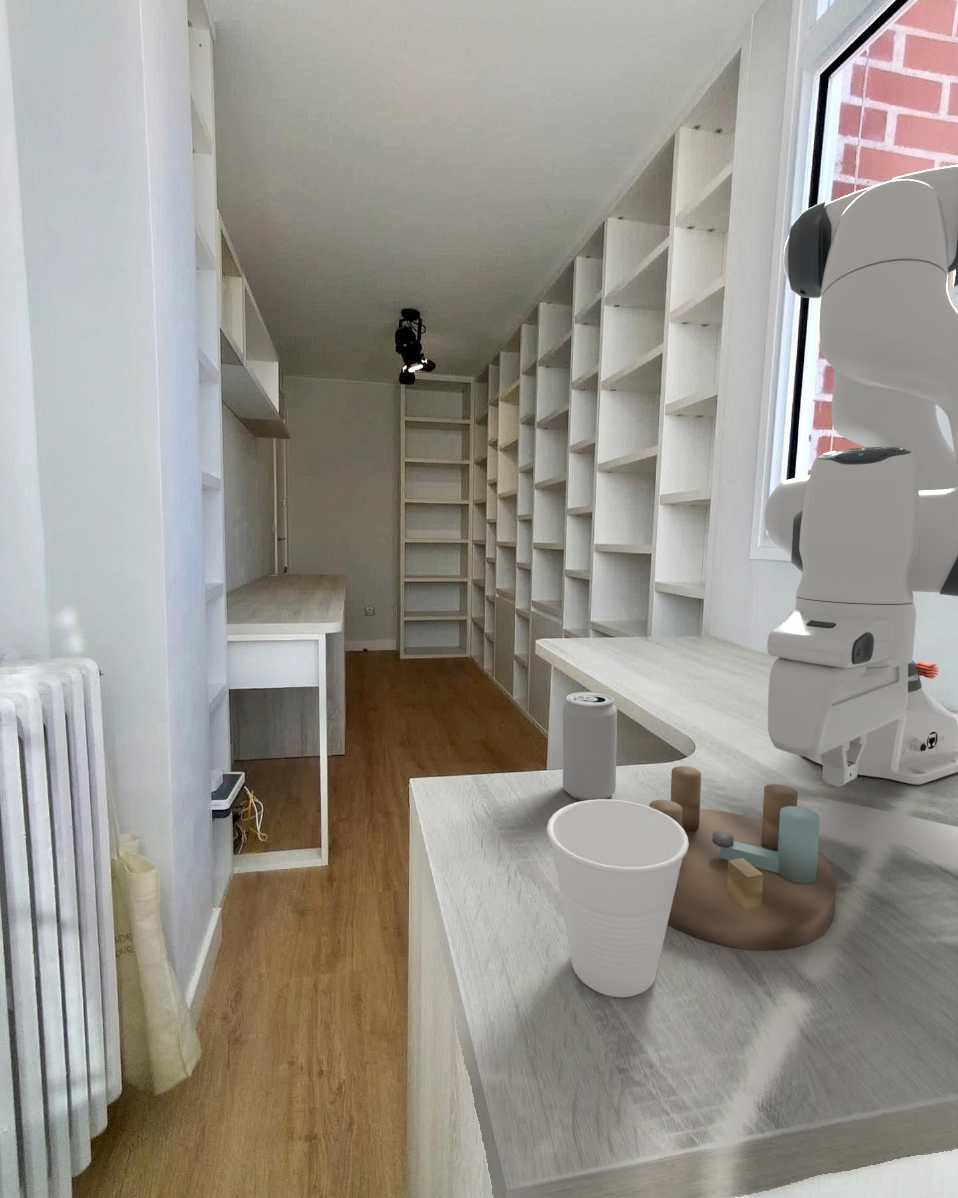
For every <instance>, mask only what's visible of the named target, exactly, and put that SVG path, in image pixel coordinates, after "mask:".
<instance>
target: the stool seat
mask: <svg viewBox="0 0 958 1198" xmlns="http://www.w3.org/2000/svg"><path fill="white" fill-rule="evenodd" d="M670 779H671V780H670V800H667V799H655V800H652V801H650V803H649V805H648V807H651V808H653V809H656V810H658V811H660V812H662V813H664V814H666V815H668V816H669V817H671V818H672V819H673V820H675V821H676V822H677V823H678V824H679V825H680V826H681V827H682V828H683V829H684V831H685V833H686V835H687V837H688V843H689V846H688V850H687V853H686V854H685V855H684V857H683V858H682V862H681V867H680V871H679V876H678V880H677V885H676V889H675V893H674V898H673V901H672V906H671V911H670V915H669V919H668V924H667V926H670V927H671V928H673V929H676V930H677V931H680V932H682V933H684V934H687V935H688V936H692V937H693V938H697V939H700V940H701V941H706V942H709V943H712V944H716V945H721V946H725V947H729V948H735V949H742V950H751V951H752V950H753V951H777V950H778V951H779V950H780V951H781V950H787V949H794V948H797V947H801V946H804V945H807V944H809V943H811V942H814V941H816V940H818V939H819V938H820V937H821V936H823V935H824V934H826V932H827V931H828V930H829V929H831V926H832V924H833V921H834V918H835V917H834V915H835V907H836V895H837V894H836V893H837V881H836V876H835V873H834V871H833V869H832V867H831V866H830V864H829V862H828V861H827V860H826V859H825V858H824V857H823V856H822V854H821V853H819V852H818V856H817V871H816V880H815V881H814V882H813V883H809V884H801V883H796V882H792V881H789V880H787V879H785V878H784V877H782V876H781V875H780V874H779V873H776V872H772V871H768V870H765V869H761V868H757V867H754V866H752V865H751V864H750V863H749V862H747V861H746V860H745V859H744V858H740V859H734V860H726V859H722V858H720V846H717V845H715V844H714V843H713V841H712V836H713V832H716V831H724V832H728V833H730V834H731V835H733V837H734V841H736V842H740V843H744V844H748V845H752V846H756V847H760V848H764V849H769V850H773V851H777V852H778V841H779V824H780V810H781V808H783V807H787V806H796V807H798V801H799V799H798V798H799V792H798V791H797V790H796V789H795V788H794V787H793V788H792V786H789V785H784V784H779V783H769V784H766V785H765V786H764V787H763V789H764V791H763V802H762V803H763V806H762V820H761V819H760V820H759V819H756V818H753V817H750V816H745V815H743V814H738V813H734V812H728V811H722V810H715V809H706V808H705V809H704V808H701V790H702V788H701V787H702V772H701V771H700V770H699V769H696V768H694V767H690V766H686V765H685V766H683V765H682V766H675V767H673V768H672V769H671V778H670Z"/></svg>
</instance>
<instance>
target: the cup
mask: <svg viewBox="0 0 958 1198" xmlns="http://www.w3.org/2000/svg"><path fill="white" fill-rule="evenodd" d="M546 825H547V826H546V832H547V833H546V834H547V837H548V839H549V841H550V843H551V847H552V852H553V860H554V864H555V871H556V878H557V881H558V887H559V894H560V900H561V905H562V912H563V917H564V918H563V919H564V924H565V930H566V935H567V943H568V948H569V949H568V950H569V957H570V960H571V967H572V968H573V971H574V973H575V975H577V978H578V979H579V980H580V981H581V982H582V983H583V984H584V985H586V986H587V987H588V988H590V989H591V990H593V991H595V992H597V993H598V994H601V995H605V996H608V997H613V998H630V997H634V996H637V995H639V994H641V993H644V992H646V991H647V990H648V989H649V988H651V987H652V985H653V983H654V982H655V981H656V977H657V973H658V969H659V965H660V958H661V956H662V952H663V951H662V949H663V946H664V941H665V937H666V931H667V929H668V919H669V915H670V911H671V906H672V901H673V898H674V893H675V889H676V885H677V880H678V876H679V871H680V867H681V862H682V858H683V857H684V855H685V854H686V853H687V850H688V846H689V843H688V837H687V835H686V833H685V831H684V829H683V828H682V827H681V826H680V825H679V824H678V823H677V822H676V821H675V820H673V819H672V818H671V817H669V816H668V815H666V814H664V813H662V812H660V811H658V810H656V809H653V808H651V807H649V805H645V804H641V803H637V802H632V801H629V800H628V801H627V800H620V799H609V798H607V799H597V800H587V801H583V800H580V801H577V802H574V803H570V804H567V805H565V806H564V807H561V808H560V809H558V810H557V811H556V812H554V813H553V814H552V815H551V817H550V818H549V819H548V823H547V824H546Z"/></svg>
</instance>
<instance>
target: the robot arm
mask: <svg viewBox="0 0 958 1198" xmlns="http://www.w3.org/2000/svg"><path fill="white" fill-rule="evenodd" d="M783 267H784V273H785V275H786V279H787V281H788V282H789V286H790V288H791V291H792V292H794V293H795V294H796V295H798V296H800V297H801V298H806V299H807V298H809V299H819V307H818V340H819V350H820V352H821V354H822V355H823V357H824V359H825V361H826V362H827V363H828V364H829V366H831V367H832V368H833V385H832V398H831V399H832V400H831V401H832V402H831V414H830V416H831V417H830V420H831V424H832V427H833V428H834V430H835V432H836V433H837V434H838V435H839V436H841V437H842V438H843V439H845V440H848V441H850V442H851V443H855V444H856V445H859V446H863V447H854V448H847V449H837V450H832V451H827V452H824V453H823V454H821V455H819V456H817V457H816V458H815V459H814V460H813V463H812V466H811V470H810V472H809V475H808V474H807V475H803V476H802V475H801V476H799V477H794V478H793V477H792V478H790V479H786V480H785V479H784V480H783V481H781V482H779V484H778V485H777V486H776V487H775V488H774V490H773V491H772V492H771V494H770V495H769V498H768V499H767V500H766V505H765V508H764V525H765V529H766V531H767V533H768V536H769V538H771V540H772V541H773V542H774V544H775V545H777V546H778V547H779V548H780V549H782V550H783V551H784V552H785V553H787V554H788V555H789V556H790V558H791V559H790V561H791V563H792V564H793V565H794V566H795V567H796V568H797V569H798V570H799V571H801V573H802V574H801V579H800V582H799V585H798V587H797V590H796V595H795V596H796V597H795V609H793V610H792V611H790V613H789V615H788V616H787V617H786V618H785V619H784V620H783V621H782V622H781V623H780V624H779V625H777V626H776V627H775V628H773V629H772V630H771V631H770V632H769V634H768V636H767V647H766V648H767V654H768V655H769V656H770V657H773V658H777V659H776V660H775V661H774V662H773V664H772V666H771V669H770V672H769V673H770V674H769V677H768V691H767V692H768V694H767V733H768V736H769V739H770V741H771V743H772V745H773V747H774V748H776V749H778V750H781V751H784V752H787V753H790V754H793V755H797V756H801V757H803V758H804V757H805V758H807V759H809V760H811V761H813V762H815V763H817V764H820V765H821V766H822V776H821V777H822V780H823V781H824V783H826V784H828V785H832V786H835V787H837V788H839V787H844V786H845V785H846V784H848V783H850V782H852V781H854V780H855V779H857V777H858V775H860V776H867V777H874V778H882V779H888V780H893V781H897V782H901V783H905V784H910V785H923V784H925V783H929V782H931V781H935V780H937V779H942V778H944V777H947V776H950V775H953V774H956V773H958V720H957V718H956V716H954V714H953V713H951V712H950V711H949V710H948V709H947V708H946V707H944V706H943V705H941V704H940V703H939V702H938V701H937V700H935V699H934V698H933V697H932V696H931V695H930V694H928V693H927V692H926V691H925V690H924V689H923V688H922V687H923V685H922V681H921V676H922V677H925V678H927V679H931V680H932V679H935V678H936V677H937V675H938V672H939V667H938V665H937V664H935V663H931V662H930V663H929V662H925V661H924V660H923V661H922V660H921V661H918V662H917V663H916V662H915V661H914V660H913V657H914V645H915V643H914V642H915V635H916V623H917V621H916V620H917V607H916V604H915V603H914V601H915V600H914V592H922V593H938V594H939V595H944V596H953V597H958V310H957V308H956V307H954V305H953V303H952V301H951V299H950V295H949V291H948V279H949V278H948V277H949V275H948V274H950V272H953V273H952V275H953V276H952V277H953V278H952V285H953V288H955V287H957V286H958V164H955V165H950V166H943V167H937V168H931V169H926V170H921V171H916V172H913V173H908V174H904V175H900V176H896V177H893V178H892V180H889V181H886V182H882V183H878V184H875V185H872V186H869V187H866V188H864V189H861V190H857V191H854V192H852V193H850V194H848V195H844V196H841V197H840V198H838V199H835V200H833V201H830V202H829V200H823V201H822V202H820V203H817V204H815V205H814V206H812V207H809V208H808V209H805V210H804V211H803V212H801V213H800V215H799V216H798V217H797V218H796V220H794V222H793V223H792V225H791V227H790V229H789V235H788V237H787V239H786V241H785V245H784V250H783ZM937 407H939V408H940V409H941V410H942V411H943V412H944V413H945V415H946V416H947V420H948V422H949V425H950V432H951V439H952V443H953V444H952V445H953V448H952V447H951V446H950V444H949V443H948V441H947V440H946V438H945V436H944V435H943V432H942V431H941V427H940V424H939V420H938V416H937Z"/></svg>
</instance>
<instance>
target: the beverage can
mask: <svg viewBox="0 0 958 1198" xmlns="http://www.w3.org/2000/svg"><path fill="white" fill-rule="evenodd" d="M565 700H566V702H565V703H564V705H563V706H562V787H563V790H564V791H565V792H566V793H568V795H570V797H572V798H573V799H576V800H579V801H587V800H597V799H609V798H610V796H612V795H613V794H615V792H616V789H617V742H618V741H617V740H618V739H617V735H618V734H617V729H618V728H617V727H618V724H617V723H618V709H617V707H616V705H615V704H614V702H615V698H614V697H613V696H611V695H609V694H607V693H602V692H597V691H580V692H579V691H578V692H573V693H570V694H568V695H566V697H565Z"/></svg>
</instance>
